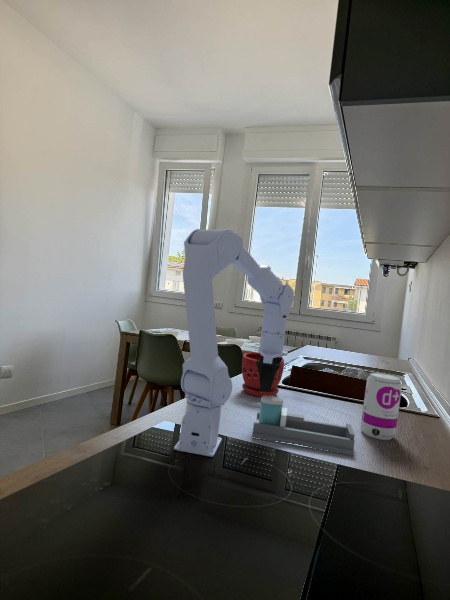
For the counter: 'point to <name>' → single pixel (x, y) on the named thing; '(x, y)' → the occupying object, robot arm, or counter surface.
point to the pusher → (289, 417)
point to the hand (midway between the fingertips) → (266, 387)
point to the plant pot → (257, 375)
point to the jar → (270, 410)
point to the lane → (309, 435)
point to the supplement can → (381, 406)
